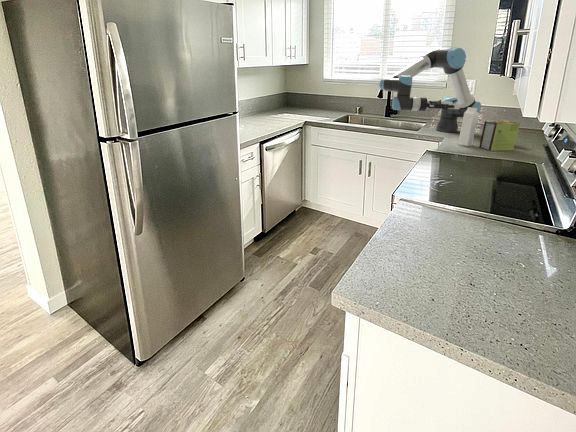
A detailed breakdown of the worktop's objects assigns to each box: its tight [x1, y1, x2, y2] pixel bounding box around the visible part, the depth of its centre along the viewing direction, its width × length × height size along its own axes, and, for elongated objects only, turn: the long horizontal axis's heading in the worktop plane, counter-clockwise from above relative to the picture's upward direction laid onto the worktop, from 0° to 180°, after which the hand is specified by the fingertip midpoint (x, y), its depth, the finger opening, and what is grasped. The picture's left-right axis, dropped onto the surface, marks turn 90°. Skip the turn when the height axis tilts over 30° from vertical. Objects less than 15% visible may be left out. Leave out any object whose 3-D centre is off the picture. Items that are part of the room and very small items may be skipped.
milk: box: [457, 107, 480, 147], centre depth 223 cm, size 6×6×22 cm
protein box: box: [479, 119, 521, 152], centre depth 216 cm, size 10×15×16 cm
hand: (455, 105), depth 219 cm, fingers open, 13 cm apart
